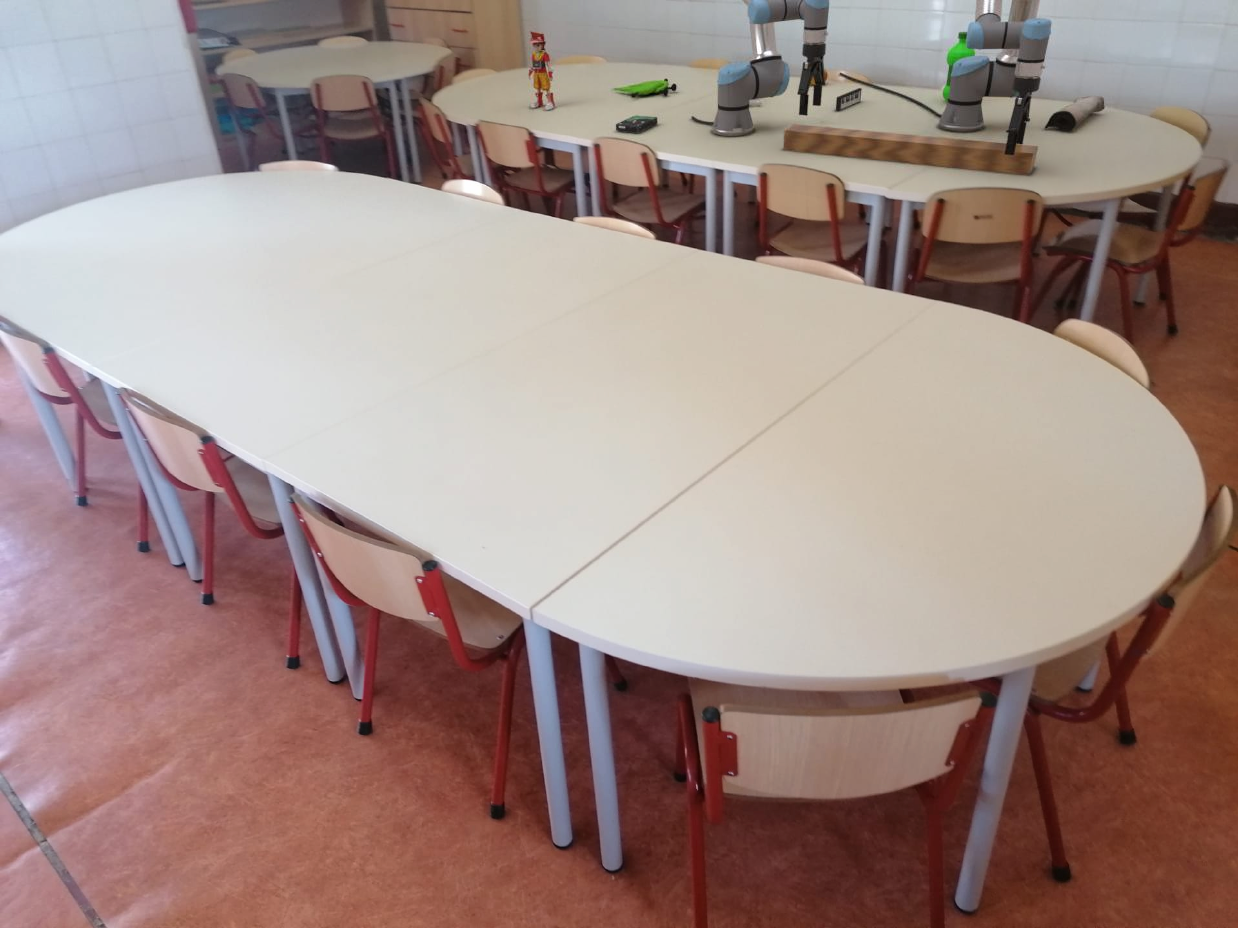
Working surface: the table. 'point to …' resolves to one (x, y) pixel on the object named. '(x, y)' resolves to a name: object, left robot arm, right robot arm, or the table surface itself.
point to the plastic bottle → (956, 58)
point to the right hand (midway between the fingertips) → (1013, 149)
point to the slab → (911, 149)
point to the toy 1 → (541, 71)
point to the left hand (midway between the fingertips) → (810, 110)
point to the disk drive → (636, 124)
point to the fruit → (825, 77)
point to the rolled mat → (1075, 113)
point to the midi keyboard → (848, 99)
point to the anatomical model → (754, 102)
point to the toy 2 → (648, 88)
